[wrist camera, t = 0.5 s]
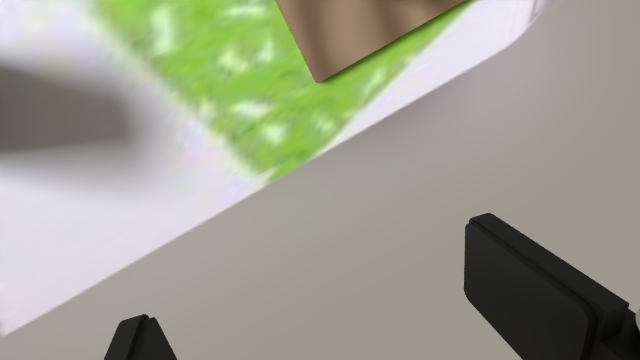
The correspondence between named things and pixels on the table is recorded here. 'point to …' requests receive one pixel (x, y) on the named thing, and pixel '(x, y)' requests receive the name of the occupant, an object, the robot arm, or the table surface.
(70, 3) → the table surface
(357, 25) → the post stand
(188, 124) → the table surface
